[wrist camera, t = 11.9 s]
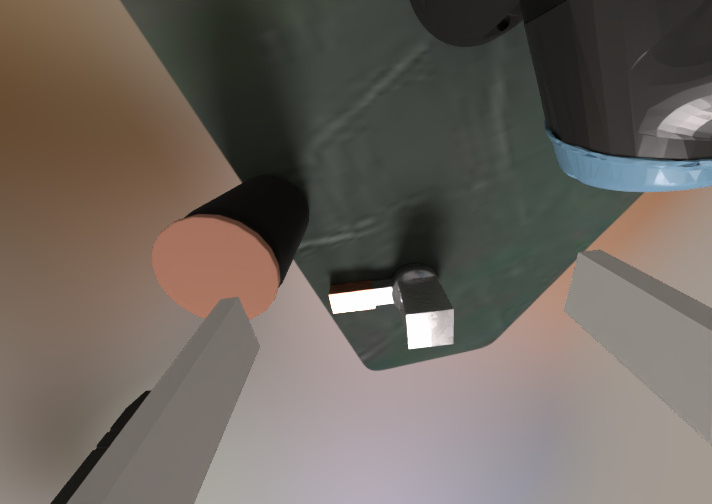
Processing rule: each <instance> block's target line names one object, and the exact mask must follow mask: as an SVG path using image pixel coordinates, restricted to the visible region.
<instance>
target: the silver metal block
mask: <svg viewBox="0 0 712 504" xmlns="http://www.w3.org/2000/svg"><path fill="white" fill-rule="evenodd" d="M397 285H398V295H399V306H400V313H401V317H402V321H403V326H404V330H405V334H406V338H407V343H408V347H409V349H412V348H421V347H430V346H439V345H448V344H453V323H454V309H453V307H452V305H451V303H450V301H449V299H448V297H447V295H446V293H445V292H444V290H443V288H442V286H441V284H440V282H439V280H438V278H437V276H430V277H422V278H414V279H406V280H399V281H397Z"/></svg>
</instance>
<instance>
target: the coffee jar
mask: <svg viewBox="0 0 712 504" xmlns="http://www.w3.org/2000/svg"><path fill="white" fill-rule="evenodd" d="M308 222H309V210H308V207H307V204H306V202H305V199H304V197H303V196H302V195H301V193H300V192H299V191H298V189H297V188H295V187H294V186H293V185H291V184H290V183H289V182H287V181H286V180H283V179H280V178H278V177H275V176H259V177H255V178H252V179H249V180H247V181H246V182H244V183H242V184H240V185H238V186H237V187H235V188H233V189H231V190H230V191H228V192H226V193H224V194H222V195H221V196H219V197H217V198H216V199H213V200H212V201H210V202H208V203H206V204H205V205H203V206H201V207H199V208H197V209H195V210H194V211H192V212H191V213H190V214H188V215H187V216H186V217H184V218H183V219H179V220H177V221H174V222H173V223H172V224H171V225H169V226H168V227H167V228H165V229H164V230H163V231H162V232H160V234H159V236H158V238H157V240H156V242H155V244H154V246H153V250H152V266H153V269H154V272H155V275H156V278H157V280H158V282H159V283H160V285H161V286H162V288H163V289H164V290H165V292H166V293H167V294H168V296H169V297H170V298H172V299H173V300H174V301H175V302H176V303H178V304H179V305H180V306H181V307H182V308H184V309H186V310H188V311H190V312H192V313H193V314H196V315H198V316H200V317H202V318H207V316H208V315H209V314H210V312H211V311H212V310H213V308H214V307H215V306H216V304H217V303H218V302H219V300H220V299H225V298H233V297H239V299H240V301H241V303H242V306H243V308H244V310H245V313H246V315H247V317H248V319H252V318H254V317H256V316H257V315H259V314H261V313H263V312H264V311H266V310H267V308H268V307H269V306H270V305H271V303H272V302H273V301H274V300H275V297H276V294H277V291H278V288H279V287H280V285H281V284H282V283H283V280H284V278H285V276H286V274H287V272H288V269H289V267H290V265H291V263H292V260H293V258H294V256H295V254H296V251H297V249H298V247H299V245H300V242H301V240H302V238H303V236H304V234H305V231H306V228H307V225H308Z"/></svg>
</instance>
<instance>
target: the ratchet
mask: <svg viewBox="0 0 712 504" xmlns="http://www.w3.org/2000/svg"><path fill="white" fill-rule="evenodd" d="M430 276H437V275H436V273H435V272H434V270H433V269H432V268H430V267H429V266H427V265H425V264H420V263H412V264H408V265H405V266H403V267H401V268H399V269H398V270H397V271H396V272H395V273H394V275H393V276H392V278H391V279H385V280H377V281H371V280H366V281H358V282H350V283H343V284H335V285H330V291H329V298H330V302H331V306H332V310H333V313H341V312H349V311H357V310H365V309H373V308H375V305H381V304H389V303H394V304H395V305H396V307H397V308H398V309H400V306H399V295H398V285H397V281H399V280H406V279H414V278H422V277H430ZM437 278H438V277H437ZM438 280H439V279H438ZM439 282H440V281H439ZM440 284H441V283H440ZM441 286H442V285H441Z"/></svg>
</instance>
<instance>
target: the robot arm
mask: <svg viewBox="0 0 712 504" xmlns="http://www.w3.org/2000/svg"><path fill="white" fill-rule="evenodd" d="M410 2H411V4H412V7H413V9H414V11H415V13H416V15H417V17H418V19H419V20H420V22H421V23H422V24H423V26H424V27H425V28H426V29H427V30H428V31H429V32H430V33H431V34H432V35H433V36H435V37H436V38H438V39H439V40H441V41H443V42H445V43H448V44H450V45H454V46H460V47H470V46H477V45H481V44H484V43H487V42H489V41H492V40H494V39H496V38H497V37H499V36H501V35H502V34H504V33H506V32H507V31H509V30H511V29H512V28H513V27H515V26H516V25H517V24H519V23H520V22H521V21H522V20H523V19H524V23H525V24H524V27H525V31H526V36H527V40H528V44H529V48H530V53H531V57H532V61H533V66H534V70H535V74H536V78H537V83H538V87H539V91H540V96H541V101H542V106H543V111H544V115H545V122H544V123H545V132H546V134H547V136H548V137H549V138H550V140H551V141H552V144H553V148H554V151H555V155H556V158H557V161H558V164H559V165H560V167H561V168H562V170H563V171H564V172H565V173H566V174H567V175H569V176H571V177H573V178H576V179H578V180H579V181H581V182H582V183H584V184H587V185H590V186H594V187H598V188H603V189H609V190H617V191H629V192H663V191H677V190H687V189H695V188H702V187H708V186H712V0H410ZM564 312H566V313H567V314H568V315H569V316H570V317H571V318H572V319H573V320H575V322H576V323H578V324H579V325H580V326H581V327H582V328H583V329H584V330H585V331H586V332H588V333H589V334H590V335H591V336H592V337H593V338H594V339H595V340H597V342H599V343H600V344H601V345H602V346H603V347H604V348H605V349H606V350H607V351H608V352H609V353H610V354H612V355H613V356H614V357H615V358H616V359H617V360H618V361H619V362H620V363H621V364H623V365H624V366H625V367H626V368H627V369H628V370H629V371H630V372H631V373H633V374H634V375H635V376H636V377H637V378H638V379H639V380H640V381H641V382H642V383H643V384H644V385H646V386H647V387H648V388H649V389H650V390H651V391H652V392H653V393H654V394H655V395H657V396H658V397H659V398H660V399H661V400H662V401H663V402H664V403H665V404H666V405H668V406H669V407H670V408H671V409H672V410H673V411H674V412H675V413H677V415H679V416H680V417H681V418H682V419H683V420H684V421H685V422H686V423H687V424H688V425H689V426H691V427H692V428H693V429H694V430H695V431H696V432H697V433H698V434H700V436H702V437H703V438H704V439H705V440H706V441H707V442H708V443H709V444H710V445H712V308H710V307H708V306H706V305H705V304H703V303H701V302H699V301H697V300H695V299H693V298H691V297H689V296H687V295H686V294H684V293H682V292H680V291H678V290H676V289H674V288H672V287H670V286H668V285H666V284H665V283H662V282H661V281H659V280H657V279H655V278H653V277H651V276H649V275H648V274H645V273H644V272H642V271H640V270H638V269H636V268H634V267H632V266H630V265H628V264H627V263H625V262H623V261H621V260H619V259H617V258H615V257H613V256H611V255H610V254H608V253H606V252H604V251H602V250H593V251H585V252H578V256H577V260H576V264H575V268H574V272H573V276H572V280H571V284H570V287H569V291H568V296H567V299H566V304H565V307H564ZM259 347H260V345H259V343H258V340H257V338H256V336H255V334H254V331H253V329H252V326H251V324H250V322H249V319H248V317H247V315H246V313H245V310H244V308H243V306H242V303H241V301H240V299H239V297H233V298H225V299H220V300H219V302H218V303H217V304H216V306H215V307H214V308H213V310H212V311H211V312H210V314H209V315H208V316H207V318H206V319H205V320H204V322H203V323H202V324H201V326H200V327H199V328H198V330H197V331H196V333H195V334H194V335H193V336H192V338H191V339H190V340H189V342H188V343H187V344H186V346H185V347H184V348H183V350H182V351H181V352H180V354H179V355H178V356H177V358H176V359H175V360H174V362H173V363H172V364H171V366H170V367H169V368H168V370H167V371H166V372H165V374H164V375H163V376H162V377H161V379H160V380H159V381H158V383H157V384H156V385H155V387H154V388H153V389H152V390H151V391H145V392H144V393H143V394H142V395H141V396H140V397H139V398H137V399H136V400H135V401H134V402H133V403H132V404H131V405H129V406H128V407H127V408H126V409H125V411H124V412H123V413H122V414H121V416H120V417H119V418H118V419H117V421H116V422H115V423H114V424H113V426H112V427H111V428H110V429H111V430H110V432H107V433H106V434H105V436H104V437H103V438H102V439H101V441H100V442H99V443H98V444H97V448H96V449H95V450H93V451H92V452H91V453H90V455H89V456H88V457H87V458H86V460H85V461H84V462H83V463H82V465H81V466H80V467H79V469H78V470H77V471H76V472H75V473H74V475H73V476H72V477H71V479H70V480H69V481H68V482H67V483H66V485H65V486H64V487H63V488H62V490H61V491H60V492H59V494H58V495H57V496H56V497H55V499H54V500H53V501H52V502H51V504H194V502H195V500H196V498H197V495H198V493H199V490H200V488H201V486H202V483H203V480H204V479H205V476H206V474H207V471H208V469H209V467H210V464H211V462H212V459H213V457H214V455H215V452H216V450H217V448H218V445H219V442H220V440H221V438H222V436H223V433H224V431H225V428H226V426H227V424H228V421H229V419H230V417H231V414H232V412H233V409H234V407H235V405H236V402H237V400H238V397H239V395H240V393H241V390H242V388H243V385H244V383H245V381H246V379H247V376H248V374H249V371H250V369H251V367H252V364H253V362H254V360H255V357H256V355H257V352H258V350H259Z"/></svg>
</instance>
